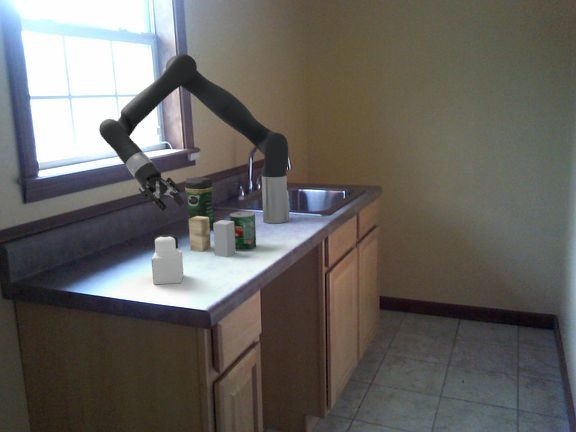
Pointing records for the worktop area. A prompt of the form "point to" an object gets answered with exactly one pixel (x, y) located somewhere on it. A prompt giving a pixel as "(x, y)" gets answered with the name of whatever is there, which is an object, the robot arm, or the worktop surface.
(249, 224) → the canned tomato
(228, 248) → the grey block
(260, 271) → the worktop surface
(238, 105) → the robot arm
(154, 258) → the medicine bottle
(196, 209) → the coffee jar
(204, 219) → the maple block
